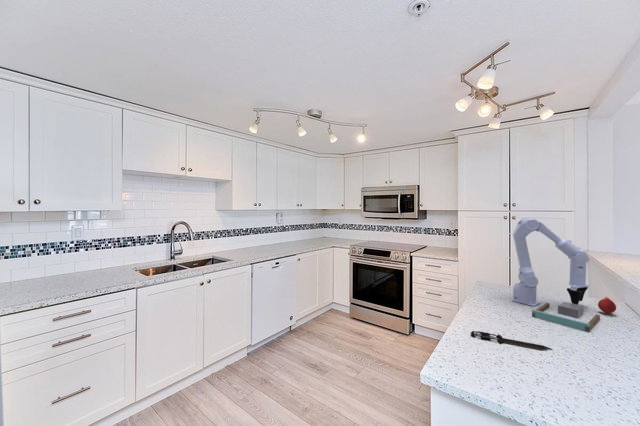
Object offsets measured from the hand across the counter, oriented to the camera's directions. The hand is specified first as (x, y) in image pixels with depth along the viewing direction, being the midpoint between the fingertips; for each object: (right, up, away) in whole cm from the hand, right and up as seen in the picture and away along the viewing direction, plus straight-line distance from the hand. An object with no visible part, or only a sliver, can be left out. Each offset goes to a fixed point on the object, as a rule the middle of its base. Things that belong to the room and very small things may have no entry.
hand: (577, 302), depth 134 cm
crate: (-9, -4, -7) cm, 12 cm away
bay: (-15, -3, -11) cm, 19 cm away
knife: (-55, -5, -31) cm, 64 cm away
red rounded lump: (+7, -3, -7) cm, 11 cm away
